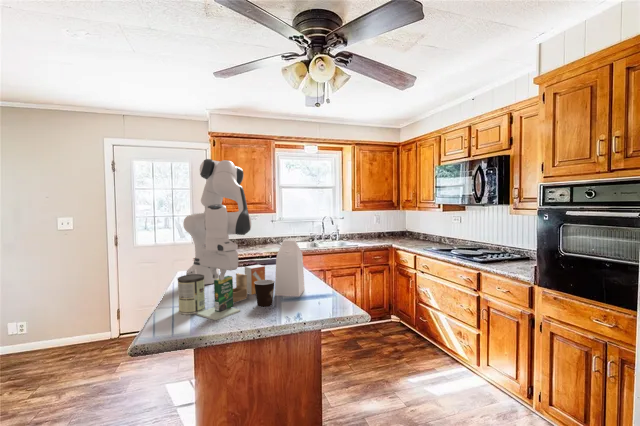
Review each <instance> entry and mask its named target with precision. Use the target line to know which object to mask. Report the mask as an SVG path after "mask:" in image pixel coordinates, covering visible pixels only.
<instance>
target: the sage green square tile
mask: <svg viewBox="0 0 640 426" xmlns="http://www.w3.org/2000/svg"><path fill="white" fill-rule="evenodd" d="M240 312H241V309H238V308H235V307H231V308H228V309H226V310H223V311H221V312H217V311H215V306H213V307H211V308H208V309H205V310H204V311H201V312H198V313H196V315H197V316H199V317H204V318H207V319H210V320H213V321H218V320H220V319H224V318H227V317H229V316H231V315H233V314H237V313H240Z"/></svg>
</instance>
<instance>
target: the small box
mask: <svg viewBox="0 0 640 426" xmlns="http://www.w3.org/2000/svg"><path fill="white" fill-rule="evenodd" d="M244 275H247V295H251V296H253V295H256V291H255V284H254V282H255V281H258V280H266V266H265V265H261V264H254V265H248V266H244Z"/></svg>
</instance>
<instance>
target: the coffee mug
mask: <svg viewBox="0 0 640 426" xmlns="http://www.w3.org/2000/svg"><path fill="white" fill-rule="evenodd" d="M254 284H255V291H256V294H255V296H256V297H255V299H256V304H257V305H256V306H257V307H259V308H269V307H271V306H273V302H274V301H273V299H274V293H275V280H273V279H265V280H258V281H255V282H254Z"/></svg>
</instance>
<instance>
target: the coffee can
mask: <svg viewBox="0 0 640 426" xmlns="http://www.w3.org/2000/svg"><path fill="white" fill-rule="evenodd" d="M177 288H178V289H177V292H178V293H177V294H178V295H177V296H178V313H179V314H180V315H186V316H187V315H188V316H189V315H195V314H196V313H198V312H201V311H204V310H206V303H205V302H206V300H205V285H204V275H201V274H191V275H186V274H184V275H181V276H179V277H177Z"/></svg>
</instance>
